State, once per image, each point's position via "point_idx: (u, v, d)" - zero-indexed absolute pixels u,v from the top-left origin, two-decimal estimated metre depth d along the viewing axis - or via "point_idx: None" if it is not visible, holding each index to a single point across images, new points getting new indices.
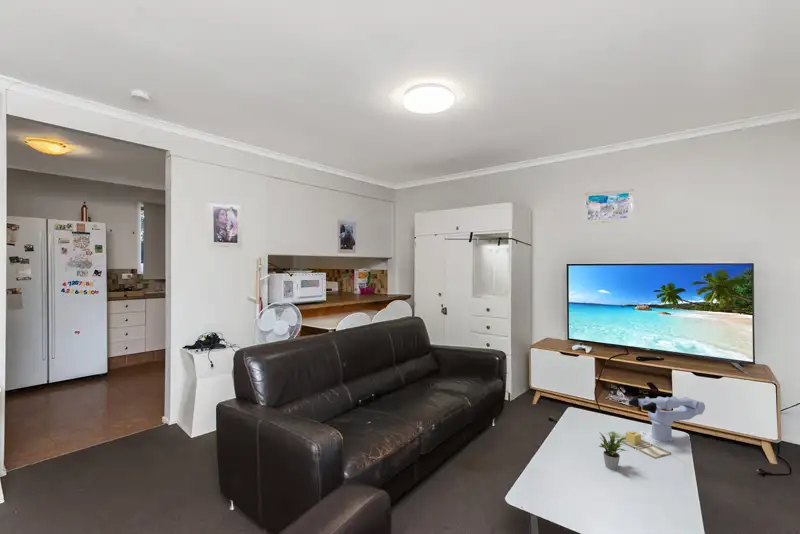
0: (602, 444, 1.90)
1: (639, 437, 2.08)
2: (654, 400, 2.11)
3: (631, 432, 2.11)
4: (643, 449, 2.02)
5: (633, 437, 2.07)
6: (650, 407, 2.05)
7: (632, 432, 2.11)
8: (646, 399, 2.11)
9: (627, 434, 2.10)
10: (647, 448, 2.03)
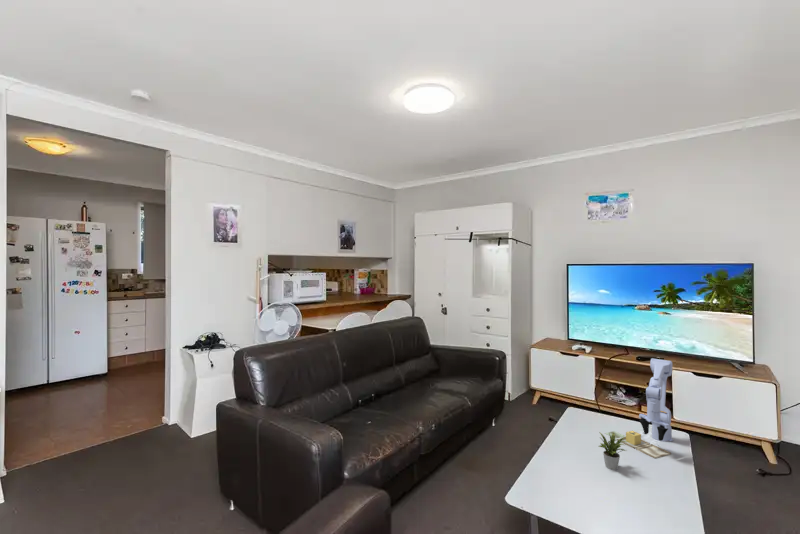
0: (602, 444, 1.90)
1: (639, 437, 2.08)
2: (652, 414, 1.97)
3: (631, 432, 2.11)
4: (643, 449, 2.02)
5: (633, 437, 2.07)
6: None
7: (632, 432, 2.11)
8: None
9: (627, 434, 2.10)
10: (647, 448, 2.03)
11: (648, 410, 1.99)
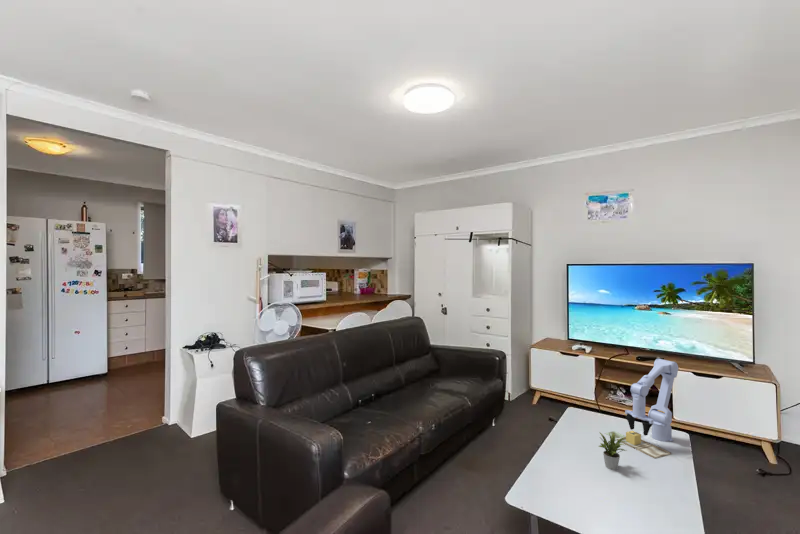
0: (602, 444, 1.90)
1: (639, 437, 2.08)
2: (638, 410, 2.05)
3: (631, 432, 2.11)
4: (643, 449, 2.02)
5: (633, 437, 2.07)
6: None
7: (632, 432, 2.11)
8: None
9: (627, 434, 2.10)
10: (647, 448, 2.03)
11: (634, 406, 2.07)
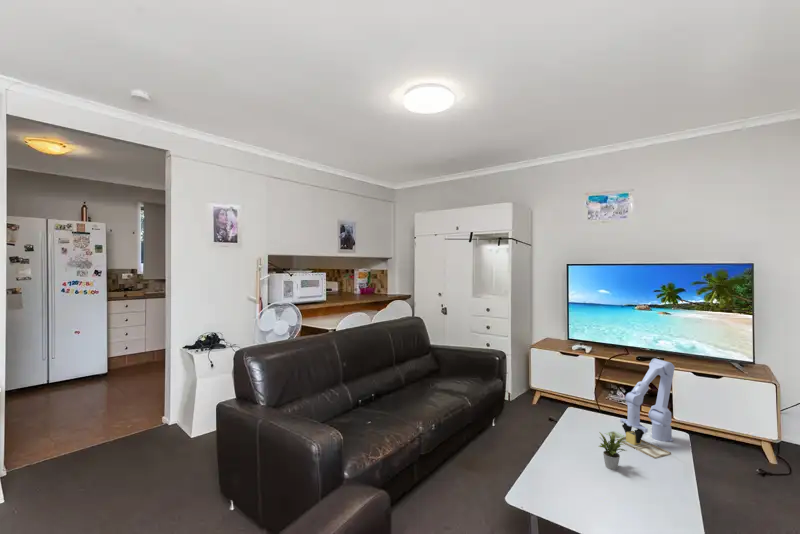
0: (602, 444, 1.90)
1: None
2: (632, 419, 2.07)
3: (631, 432, 2.11)
4: (643, 449, 2.02)
5: (633, 437, 2.07)
6: None
7: (632, 432, 2.11)
8: None
9: (627, 434, 2.10)
10: (647, 448, 2.03)
11: (628, 415, 2.09)
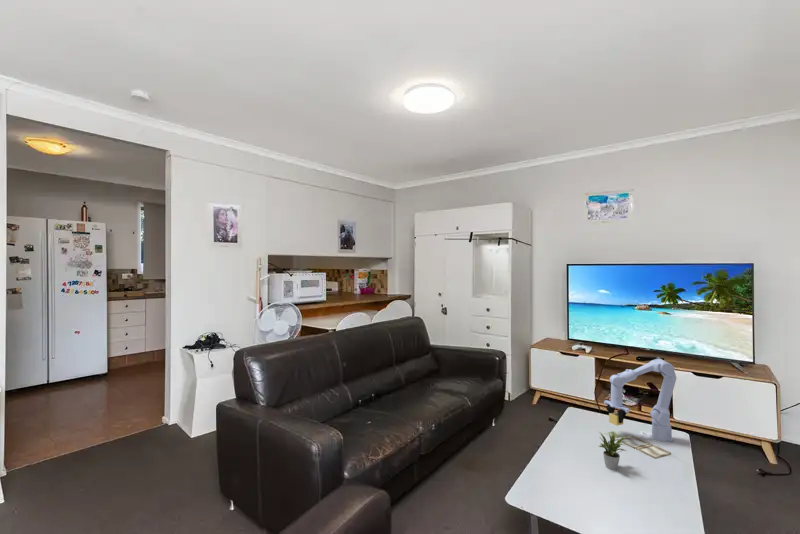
0: (602, 444, 1.90)
1: None
2: (615, 400, 2.16)
3: (614, 413, 2.19)
4: (643, 449, 2.02)
5: (616, 417, 2.15)
6: None
7: (615, 413, 2.19)
8: None
9: (610, 415, 2.19)
10: (647, 448, 2.03)
11: (611, 396, 2.18)
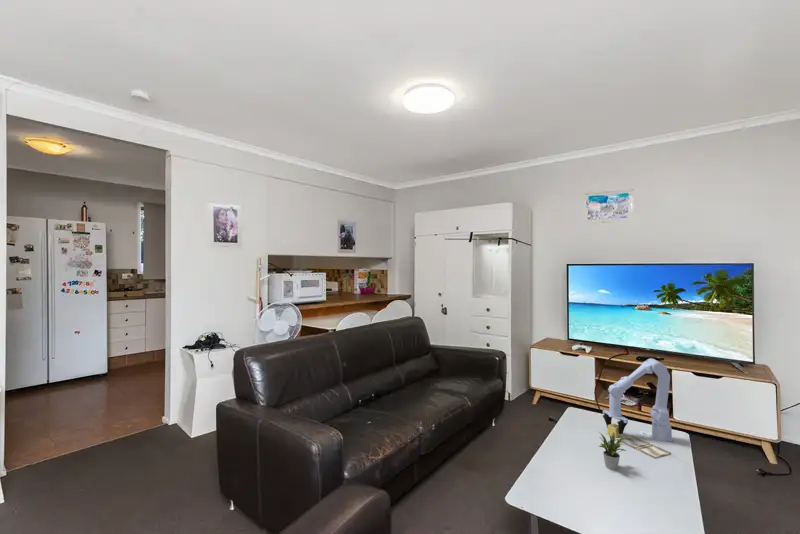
0: (602, 444, 1.90)
1: None
2: (613, 410, 2.17)
3: (612, 425, 2.20)
4: (643, 449, 2.02)
5: (614, 429, 2.16)
6: None
7: (613, 425, 2.20)
8: None
9: (609, 427, 2.20)
10: (647, 448, 2.03)
11: (610, 406, 2.19)
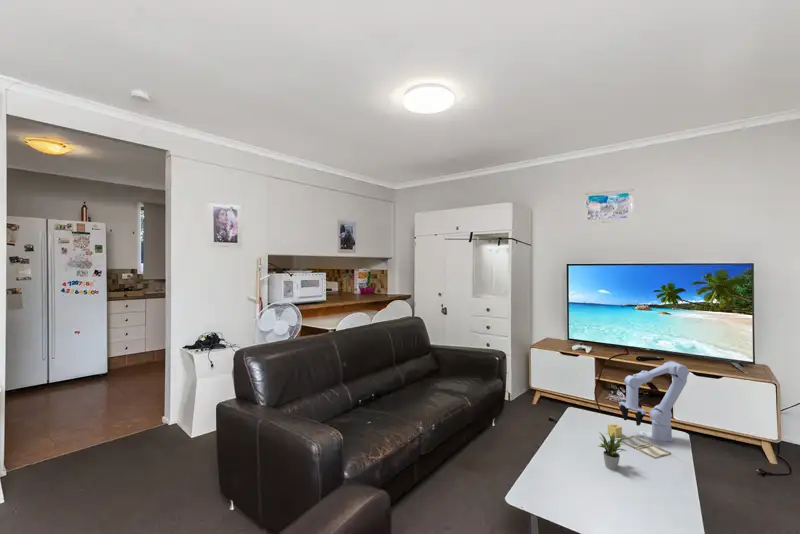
0: (602, 444, 1.90)
1: (620, 429, 2.17)
2: (631, 401, 2.13)
3: (612, 425, 2.20)
4: (643, 449, 2.02)
5: (614, 429, 2.16)
6: None
7: (613, 425, 2.20)
8: None
9: (609, 427, 2.20)
10: (647, 448, 2.03)
11: (627, 397, 2.15)
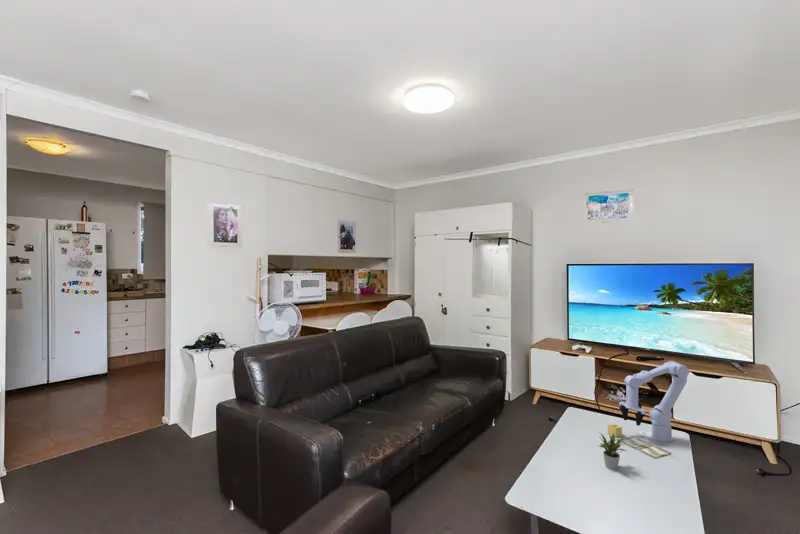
0: (602, 444, 1.90)
1: (620, 429, 2.17)
2: (631, 401, 2.13)
3: (612, 425, 2.20)
4: (643, 449, 2.02)
5: (614, 429, 2.16)
6: None
7: (613, 425, 2.20)
8: None
9: (609, 427, 2.20)
10: (647, 448, 2.03)
11: (627, 397, 2.15)
